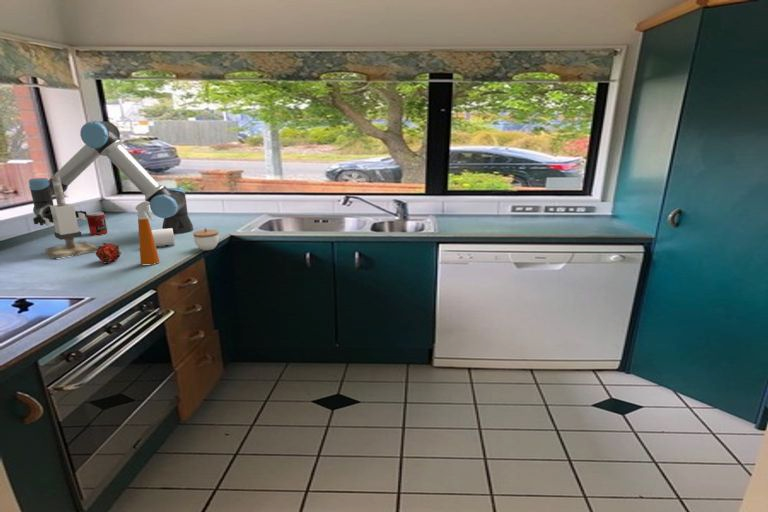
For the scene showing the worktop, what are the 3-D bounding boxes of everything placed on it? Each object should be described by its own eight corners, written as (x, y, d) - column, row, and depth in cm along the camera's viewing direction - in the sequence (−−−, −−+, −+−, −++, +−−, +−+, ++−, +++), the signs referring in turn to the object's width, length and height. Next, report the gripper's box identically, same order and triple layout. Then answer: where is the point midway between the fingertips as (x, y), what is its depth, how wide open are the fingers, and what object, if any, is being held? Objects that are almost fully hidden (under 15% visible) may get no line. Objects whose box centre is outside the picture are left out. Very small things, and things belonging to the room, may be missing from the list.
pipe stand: (85, 245, 213) (70, 173, 203) (98, 251, 203) (83, 175, 193) (45, 252, 201) (27, 176, 191) (56, 259, 191) (38, 179, 182)
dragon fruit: (115, 260, 195) (111, 272, 185) (94, 251, 191) (89, 263, 181) (125, 244, 194) (121, 256, 184) (104, 235, 189) (99, 246, 179)
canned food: (99, 236, 230) (95, 215, 227) (86, 235, 232) (82, 214, 229) (111, 232, 238) (107, 212, 234) (98, 231, 239) (94, 211, 236)
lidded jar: (196, 253, 200) (194, 232, 197) (194, 247, 209) (191, 227, 206) (221, 249, 205) (219, 229, 202) (218, 244, 214) (216, 225, 211)
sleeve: (73, 229, 204) (68, 203, 201) (79, 232, 200) (73, 205, 197) (55, 232, 199) (49, 205, 196) (60, 235, 195) (54, 207, 191)
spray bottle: (152, 268, 179) (141, 203, 172) (137, 264, 185) (126, 200, 177) (168, 263, 185) (159, 200, 177) (153, 259, 191) (143, 198, 183)
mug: (175, 246, 211) (172, 230, 208) (151, 249, 207) (148, 232, 204) (174, 240, 221) (172, 224, 219) (151, 243, 217) (149, 227, 215)
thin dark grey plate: (75, 233, 206) (74, 229, 205) (81, 236, 201) (80, 231, 200) (55, 236, 200) (54, 232, 199) (61, 239, 195) (60, 235, 194)
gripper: (83, 217, 219) (100, 223, 206) (20, 226, 201) (34, 233, 188) (80, 202, 217) (96, 207, 204) (16, 209, 199) (30, 216, 186)
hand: (67, 219), depth 196 cm, fingers open, 13 cm apart
